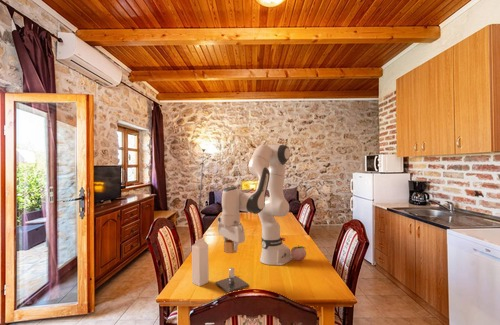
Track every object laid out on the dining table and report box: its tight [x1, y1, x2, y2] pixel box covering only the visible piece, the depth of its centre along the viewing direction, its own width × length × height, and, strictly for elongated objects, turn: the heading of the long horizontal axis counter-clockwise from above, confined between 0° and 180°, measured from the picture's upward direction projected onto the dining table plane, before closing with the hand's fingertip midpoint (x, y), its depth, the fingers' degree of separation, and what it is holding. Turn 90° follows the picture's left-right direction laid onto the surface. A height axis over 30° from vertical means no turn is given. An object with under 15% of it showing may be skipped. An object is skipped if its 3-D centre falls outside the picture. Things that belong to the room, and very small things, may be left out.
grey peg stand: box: [214, 267, 250, 294], centre depth 125 cm, size 12×12×8 cm
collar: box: [223, 239, 239, 254], centre depth 125 cm, size 6×6×5 cm
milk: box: [191, 237, 210, 287], centre depth 128 cm, size 6×6×22 cm
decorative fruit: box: [290, 244, 307, 263], centre depth 154 cm, size 9×8×10 cm
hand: (231, 247), depth 125 cm, fingers closed on collar, 6 cm apart
